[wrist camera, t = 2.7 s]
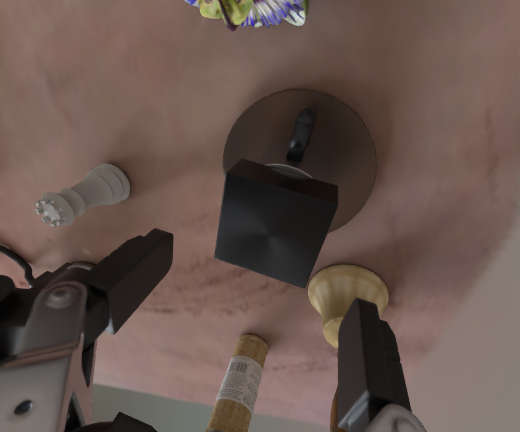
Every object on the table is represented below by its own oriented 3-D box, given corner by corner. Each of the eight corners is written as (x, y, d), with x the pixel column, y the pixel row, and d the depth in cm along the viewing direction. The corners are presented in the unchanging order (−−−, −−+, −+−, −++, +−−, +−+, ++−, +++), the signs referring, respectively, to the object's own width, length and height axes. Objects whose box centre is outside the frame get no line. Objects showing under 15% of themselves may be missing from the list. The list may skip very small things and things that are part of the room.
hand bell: (317, 322, 31) (303, 511, 18) (299, 268, 28) (265, 447, 15) (393, 320, 28) (446, 545, 15) (382, 258, 25) (436, 473, 12)
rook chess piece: (90, 172, 29) (16, 202, 23) (113, 154, 27) (40, 181, 21) (116, 205, 31) (54, 242, 24) (140, 190, 29) (79, 226, 22)
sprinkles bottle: (238, 350, 38) (196, 469, 27) (237, 329, 36) (191, 449, 24) (269, 358, 37) (239, 485, 26) (269, 337, 35) (237, 465, 23)
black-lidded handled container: (318, 215, 23) (308, 294, 15) (253, 195, 24) (208, 260, 16) (356, 112, 19) (372, 142, 10) (274, 92, 20) (228, 105, 11)
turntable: (219, 210, 27) (215, 215, 26) (238, 71, 21) (233, 71, 20) (341, 248, 26) (342, 255, 25) (404, 111, 19) (408, 113, 18)
